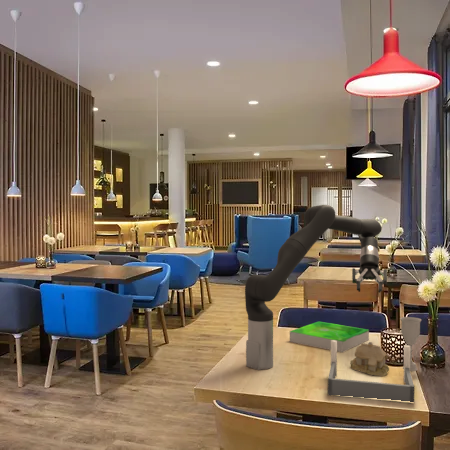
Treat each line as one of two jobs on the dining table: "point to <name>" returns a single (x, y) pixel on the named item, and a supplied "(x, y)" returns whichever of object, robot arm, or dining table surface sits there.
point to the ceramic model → (370, 360)
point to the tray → (329, 335)
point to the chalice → (410, 335)
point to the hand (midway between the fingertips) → (369, 291)
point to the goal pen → (371, 388)
